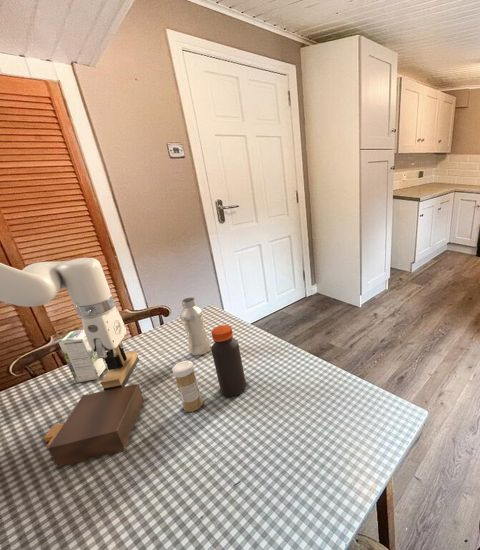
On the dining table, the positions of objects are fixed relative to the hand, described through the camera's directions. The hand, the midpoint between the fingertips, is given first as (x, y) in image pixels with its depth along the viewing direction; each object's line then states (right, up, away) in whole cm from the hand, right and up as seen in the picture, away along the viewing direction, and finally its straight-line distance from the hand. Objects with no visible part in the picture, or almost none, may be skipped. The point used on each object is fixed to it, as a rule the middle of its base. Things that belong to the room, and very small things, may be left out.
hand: (118, 364), depth 84 cm
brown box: (+5, -13, -10) cm, 17 cm away
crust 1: (-5, -13, -11) cm, 17 cm away
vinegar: (+31, -8, +3) cm, 32 cm away
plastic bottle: (+12, -2, +20) cm, 23 cm away
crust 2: (0, -13, -15) cm, 20 cm away
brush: (0, -4, +2) cm, 4 cm away
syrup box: (-15, -6, +9) cm, 19 cm away
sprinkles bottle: (+23, -11, -3) cm, 25 cm away
